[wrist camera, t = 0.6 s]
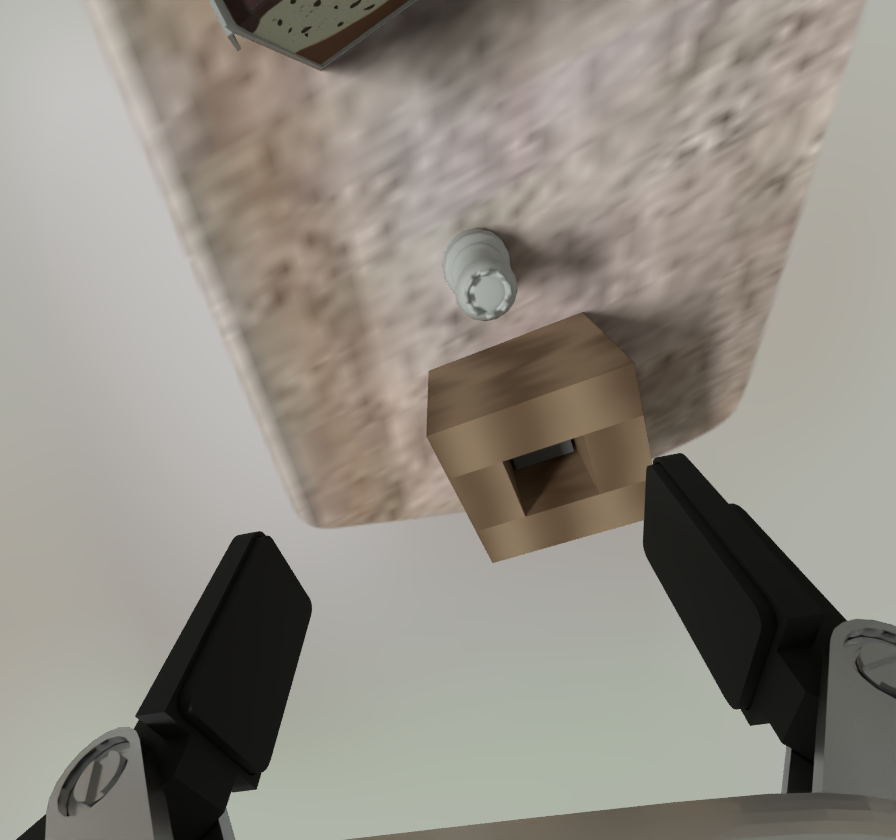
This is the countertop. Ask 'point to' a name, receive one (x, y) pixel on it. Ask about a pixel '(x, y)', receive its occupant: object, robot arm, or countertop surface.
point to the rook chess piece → (480, 274)
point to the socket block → (542, 437)
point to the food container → (306, 24)
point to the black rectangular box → (543, 454)
